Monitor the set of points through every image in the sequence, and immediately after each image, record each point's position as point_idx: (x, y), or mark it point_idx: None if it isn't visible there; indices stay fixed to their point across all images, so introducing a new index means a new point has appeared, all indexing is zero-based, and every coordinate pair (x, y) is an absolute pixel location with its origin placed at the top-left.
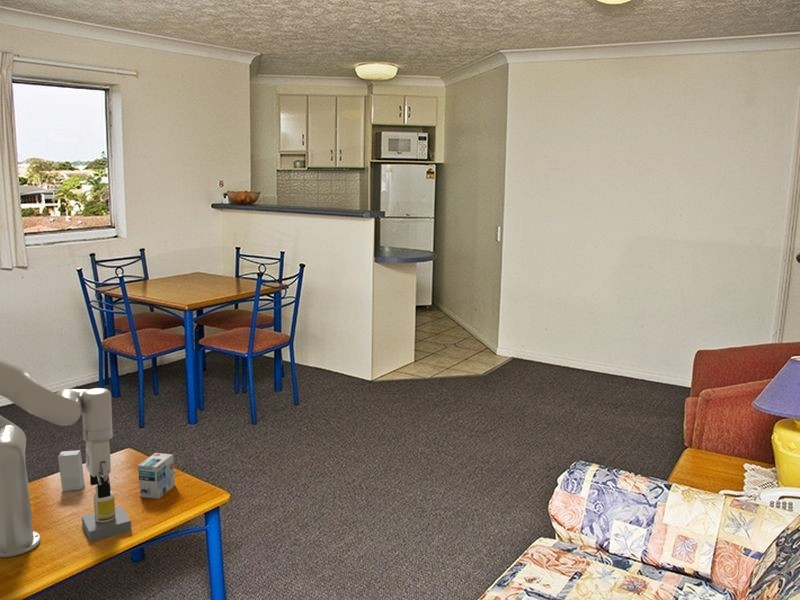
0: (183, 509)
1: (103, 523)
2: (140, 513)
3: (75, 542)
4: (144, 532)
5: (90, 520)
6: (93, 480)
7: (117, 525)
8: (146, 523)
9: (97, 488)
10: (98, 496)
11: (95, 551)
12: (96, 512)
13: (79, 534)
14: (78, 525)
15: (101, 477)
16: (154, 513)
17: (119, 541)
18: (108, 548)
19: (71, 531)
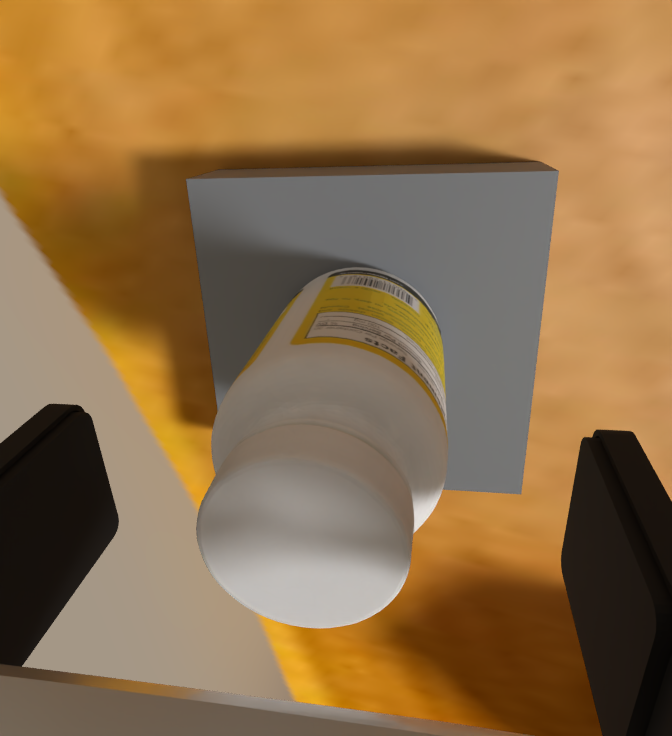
0: (356, 699)
1: (282, 311)
2: (458, 539)
3: (267, 57)
4: (189, 483)
5: (405, 229)
6: (597, 514)
7: (219, 387)
8: None
9: (269, 475)
10: (38, 415)
11: (63, 176)
12: (304, 302)
13: (392, 111)
14: (572, 131)
15: (584, 640)
16: (403, 593)
17: (139, 341)
18: (73, 261)
19: (494, 53)
